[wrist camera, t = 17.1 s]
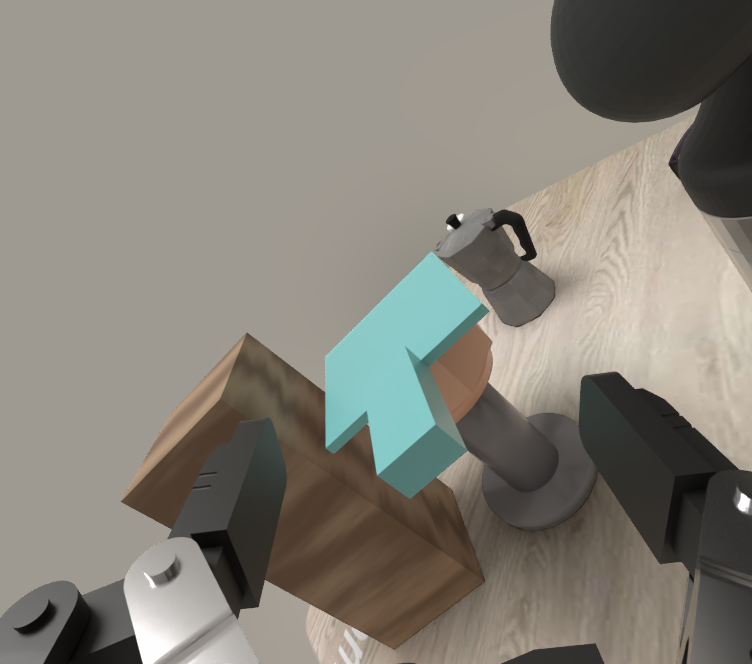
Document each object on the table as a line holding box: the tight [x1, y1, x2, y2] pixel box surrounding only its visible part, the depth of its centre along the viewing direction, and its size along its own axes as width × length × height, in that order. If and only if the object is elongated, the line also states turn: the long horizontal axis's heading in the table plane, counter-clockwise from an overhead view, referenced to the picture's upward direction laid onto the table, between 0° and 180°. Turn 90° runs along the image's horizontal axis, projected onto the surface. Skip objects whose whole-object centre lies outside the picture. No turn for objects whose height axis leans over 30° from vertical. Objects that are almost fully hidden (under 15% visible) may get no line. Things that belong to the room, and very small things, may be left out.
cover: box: [325, 252, 489, 499], centre depth 33 cm, size 24×15×2 cm, turn 10°
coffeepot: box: [434, 208, 555, 326], centre depth 62 cm, size 15×9×18 cm, turn 49°
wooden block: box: [121, 333, 485, 649], centre depth 43 cm, size 12×12×30 cm
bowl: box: [429, 323, 598, 531], centre depth 42 cm, size 12×12×22 cm
